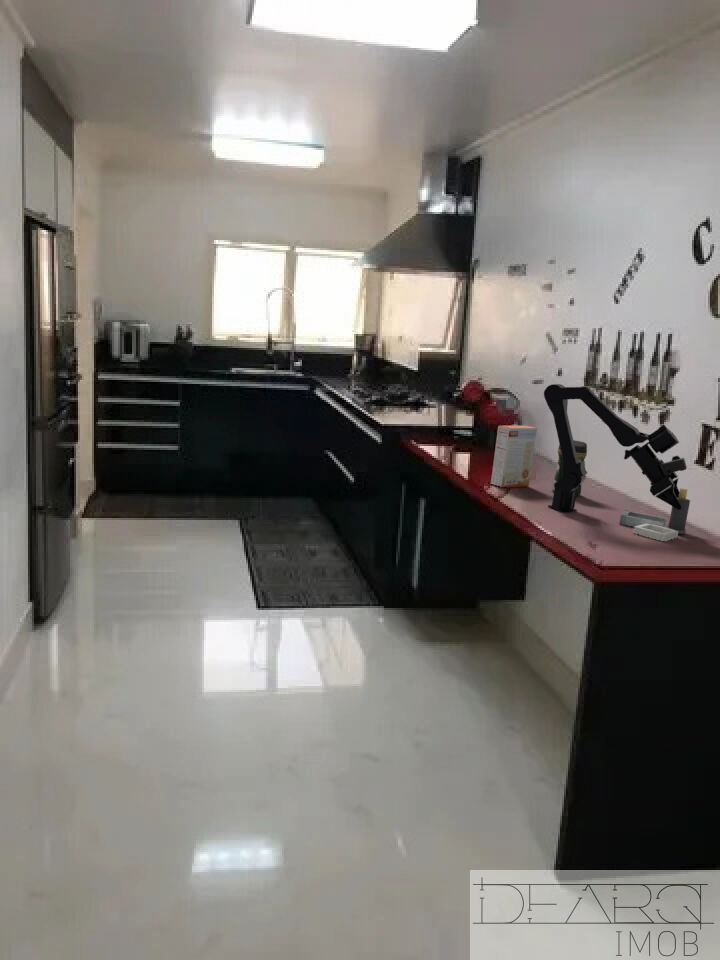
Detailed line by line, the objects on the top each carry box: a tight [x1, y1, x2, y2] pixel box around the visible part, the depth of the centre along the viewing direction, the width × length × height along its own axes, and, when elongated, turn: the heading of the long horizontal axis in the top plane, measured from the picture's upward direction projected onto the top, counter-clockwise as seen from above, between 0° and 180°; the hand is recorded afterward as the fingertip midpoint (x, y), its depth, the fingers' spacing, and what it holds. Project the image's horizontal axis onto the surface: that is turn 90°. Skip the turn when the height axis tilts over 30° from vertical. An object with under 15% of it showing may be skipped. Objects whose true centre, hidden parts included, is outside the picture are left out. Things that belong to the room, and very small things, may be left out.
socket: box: [632, 523, 679, 542], centre depth 226 cm, size 9×9×2 cm
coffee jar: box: [551, 439, 588, 497], centre depth 273 cm, size 10×8×19 cm
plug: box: [666, 488, 691, 535], centre depth 233 cm, size 5×5×13 cm
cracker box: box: [490, 425, 538, 488], centre depth 275 cm, size 14×6×21 cm, turn 127°
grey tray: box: [619, 509, 667, 528], centre depth 237 cm, size 12×9×3 cm
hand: (681, 506), depth 232 cm, fingers open, 9 cm apart
